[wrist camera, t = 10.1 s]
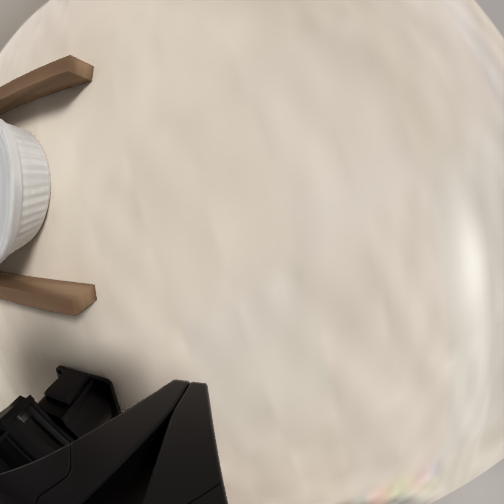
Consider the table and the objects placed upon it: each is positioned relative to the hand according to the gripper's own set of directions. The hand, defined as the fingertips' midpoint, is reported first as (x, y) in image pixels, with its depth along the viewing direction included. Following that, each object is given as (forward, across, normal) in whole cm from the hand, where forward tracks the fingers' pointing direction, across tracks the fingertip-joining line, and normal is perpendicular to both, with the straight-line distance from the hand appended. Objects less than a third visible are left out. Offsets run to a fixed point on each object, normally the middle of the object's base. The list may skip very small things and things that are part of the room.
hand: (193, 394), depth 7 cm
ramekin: (+12, +19, -6) cm, 24 cm away
